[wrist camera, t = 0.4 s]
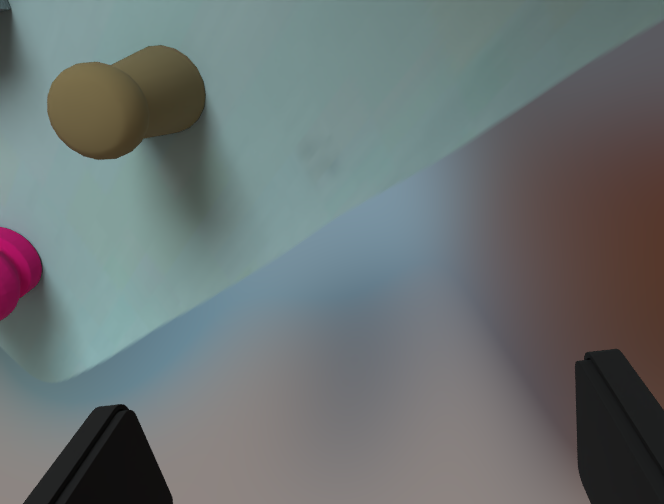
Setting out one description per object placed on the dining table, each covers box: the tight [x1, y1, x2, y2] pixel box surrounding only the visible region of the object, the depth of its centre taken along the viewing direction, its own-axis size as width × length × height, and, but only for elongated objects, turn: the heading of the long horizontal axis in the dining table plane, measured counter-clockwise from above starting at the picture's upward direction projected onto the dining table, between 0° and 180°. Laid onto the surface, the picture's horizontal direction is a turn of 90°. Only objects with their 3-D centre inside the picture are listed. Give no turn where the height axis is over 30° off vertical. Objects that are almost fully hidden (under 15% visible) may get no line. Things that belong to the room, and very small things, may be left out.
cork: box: [47, 45, 206, 160], centre depth 32 cm, size 6×6×11 cm
